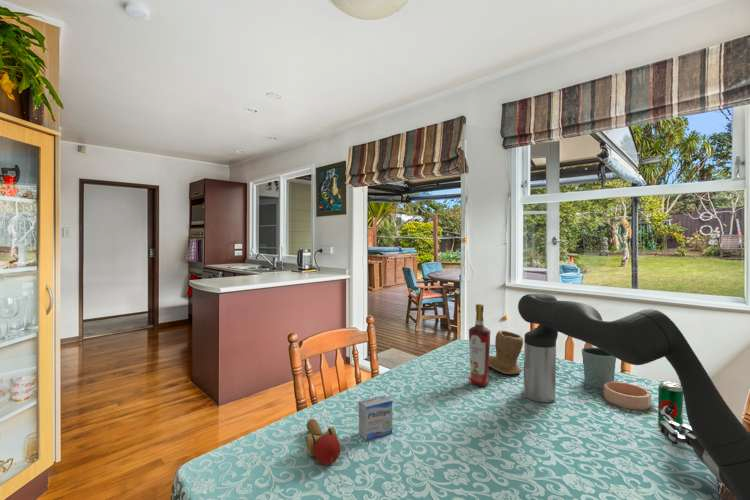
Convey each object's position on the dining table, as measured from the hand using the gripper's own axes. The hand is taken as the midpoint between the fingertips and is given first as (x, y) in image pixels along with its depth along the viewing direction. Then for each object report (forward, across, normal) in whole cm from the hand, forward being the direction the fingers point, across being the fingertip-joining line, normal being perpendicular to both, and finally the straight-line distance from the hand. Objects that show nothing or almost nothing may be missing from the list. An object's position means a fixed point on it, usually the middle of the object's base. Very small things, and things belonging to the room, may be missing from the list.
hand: (688, 421), depth 84 cm
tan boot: (+41, +42, +7) cm, 59 cm away
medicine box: (-20, +73, +7) cm, 76 cm away
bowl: (+24, +6, +6) cm, 25 cm away
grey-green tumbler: (+36, +11, +7) cm, 38 cm away
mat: (+24, +6, +7) cm, 25 cm away
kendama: (-31, +84, +7) cm, 89 cm away
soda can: (+10, 0, +7) cm, 12 cm away
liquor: (+23, +50, +7) cm, 55 cm away
